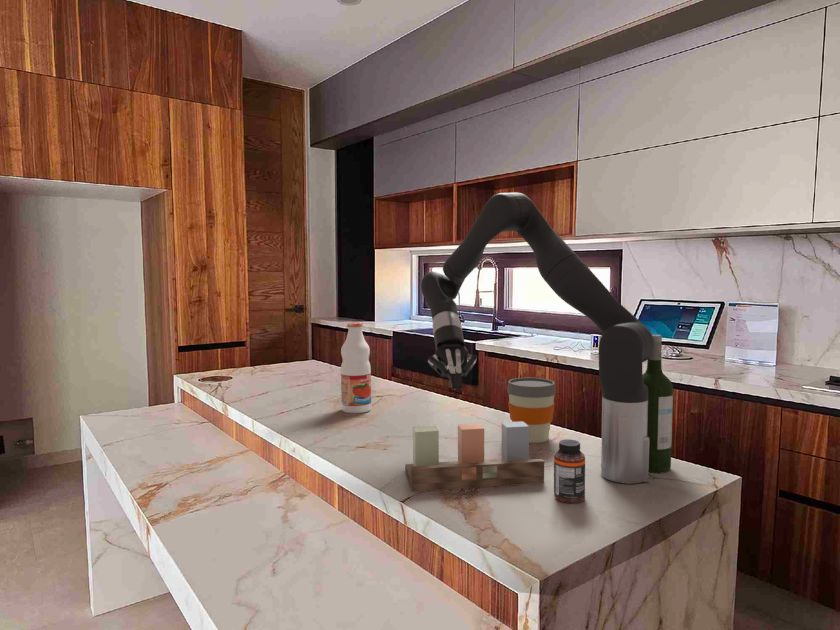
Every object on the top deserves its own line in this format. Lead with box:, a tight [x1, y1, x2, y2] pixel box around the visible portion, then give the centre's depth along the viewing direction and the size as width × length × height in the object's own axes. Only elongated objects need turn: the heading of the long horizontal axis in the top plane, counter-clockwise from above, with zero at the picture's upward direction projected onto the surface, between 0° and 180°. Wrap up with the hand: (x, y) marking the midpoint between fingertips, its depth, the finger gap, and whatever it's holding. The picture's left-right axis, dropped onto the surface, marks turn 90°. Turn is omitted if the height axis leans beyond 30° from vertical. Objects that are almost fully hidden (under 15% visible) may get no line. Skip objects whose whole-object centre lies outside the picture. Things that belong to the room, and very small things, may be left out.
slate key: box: [500, 421, 530, 461], centre depth 127 cm, size 5×4×9 cm
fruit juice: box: [340, 321, 372, 414], centre depth 182 cm, size 9×9×28 cm
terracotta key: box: [457, 423, 485, 464], centre depth 126 cm, size 5×4×9 cm
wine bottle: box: [642, 334, 674, 474], centre depth 128 cm, size 8×8×30 cm
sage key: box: [412, 425, 440, 466], centre depth 124 cm, size 5×4×9 cm
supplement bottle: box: [553, 438, 586, 504], centre depth 112 cm, size 6×6×11 cm
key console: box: [404, 458, 545, 492], centre depth 124 cm, size 28×12×5 cm, turn 98°
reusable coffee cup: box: [507, 377, 557, 444], centre depth 152 cm, size 13×13×15 cm
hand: (457, 389), depth 139 cm, fingers closed
